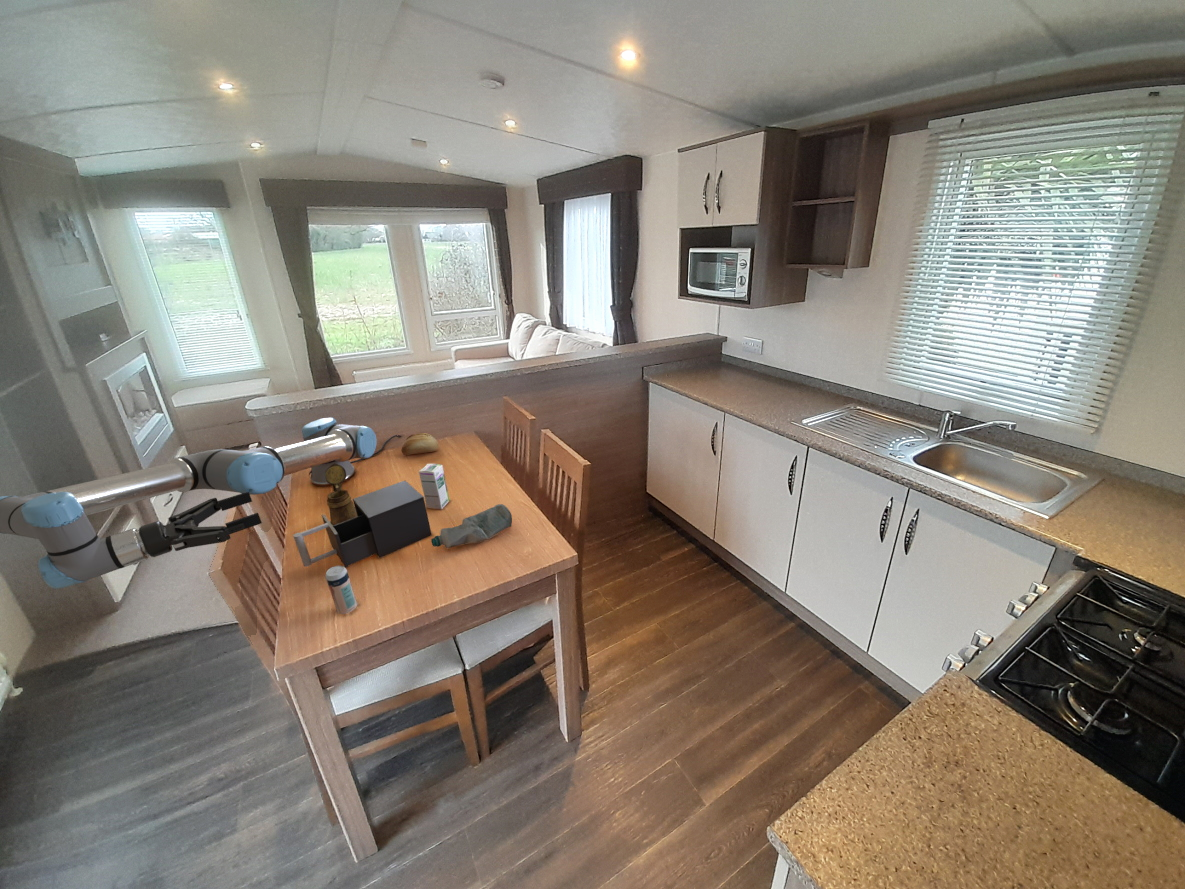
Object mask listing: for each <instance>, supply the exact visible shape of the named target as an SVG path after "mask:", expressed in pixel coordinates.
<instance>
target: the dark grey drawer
mask: <svg viewBox="0 0 1185 889" xmlns="http://www.w3.org/2000/svg"><path fill="white" fill-rule="evenodd" d="M321 518H322V522H323V524H320V525H317V526H315V527H312V528H310V529H307V530H304V531H301V532H296V533H294V534H292V537H293V540H294V542H295V545H296V548H297V550H298V553H299V556H300V560H301V562H302V564H303V567H305V568H308V567H310V566H312V564H315V563H317V562H319V561H323V560H325V559H326V558H329V557H331V556H332V557H333V556H334V555H336V556H337V557H338V559H339V560H340V563H341V564H342V566H343V567H344V568H346V569H347V568H349V567H350V566H351V565H354V564H356V563H358V562H361V561H363V560H365V559H367V558H370V557H372V556H374V555H377V549H376V545H375V542H374V538H373V534H372V531H371V527H370V523H369V520H368V518H367V517H366V516H365V515H364V514H362V515H360V516H357V517H355V518H352V519H349V520H347V521H344V522H341V523H339V524H336V525H333V526H332V524H331V523H330V521H331V520H329V518H328V517H327V515H326V514H325V513H324V514H321ZM322 530H326V533H327V536H328V540H329V543H330V546H331V548H332V550H330V551H327V552H325V553H322V554H320V555H318V556H315V557H312V558H311V556H310V553H309V551H308V547H307V544H306V542H305V539H304V537H306V536H307V537H308V536H309V535H312V534H315V533H318V532H320V531H322Z"/></svg>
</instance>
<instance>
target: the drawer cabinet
mask: <svg viewBox="0 0 1185 889" xmlns="http://www.w3.org/2000/svg"><path fill="white" fill-rule="evenodd" d="M352 502H353V504H354V506H355V509H356V513H357V516H360V515H362V514H364V515H365V516H366V517H367V518H368V520H369V523H370V527H371V531H372V534H373V538H374V542H375V545H376V549H377V554H376V555H377V557H378V558H379V559H381V558H384V557H386V556H388V555H390V554H393V553H396V552H398V551H399V550H402V549H405V548H406V547H408V546H410V545H414V544H415V543H418V542H420V541H423V540H425V539H427V538H429V537H431V536H432V535H433V534H432V530H431V525H430V520H429V515H428V510H427V505H426V501H425V497H424V495H422V494H421V493H420V492H419V491H418V490H417V489H415V488H414V487H413V486H412V485H411V484H410V483H409V482H407V480H401V481H399V482H396V483H394V484H391V485H388V486H385V487H381V488H380V489H376V490H374V491H371V492H368V493H365V494H363V495H359V496H357V497H354V498H352Z"/></svg>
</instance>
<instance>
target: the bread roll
mask: <svg viewBox="0 0 1185 889" xmlns="http://www.w3.org/2000/svg"><path fill="white" fill-rule="evenodd" d="M439 447H440V445H439V442H438V440H437V439H436V438H435V437H434V436H433V435H431V434H430V433H427V432H418V433H414V434H413V433H412V434H410V435H409V436H407V437H406V439H405V440H404V442H403V443H402V445H401V448H400V449H401V453H402V455H403V456H404V455H405V456H409V455H417V454H426V453H433V452H436V451H437V450H438V449H439Z"/></svg>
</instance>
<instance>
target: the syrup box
mask: <svg viewBox="0 0 1185 889" xmlns="http://www.w3.org/2000/svg"><path fill="white" fill-rule="evenodd" d="M418 474H419V480H420V484H421V488H422V492H423V497H424V501H425V506H426V509H431V510H432V509H433V510H443V509H444V508H445V507H446V505H448V503H449V502H450V495H449V489H448V486H447V481H446V475H445V471H444V466H443V464H440V463H426V465H425V466H423V467H422V468H421V469H419V471H418Z"/></svg>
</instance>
